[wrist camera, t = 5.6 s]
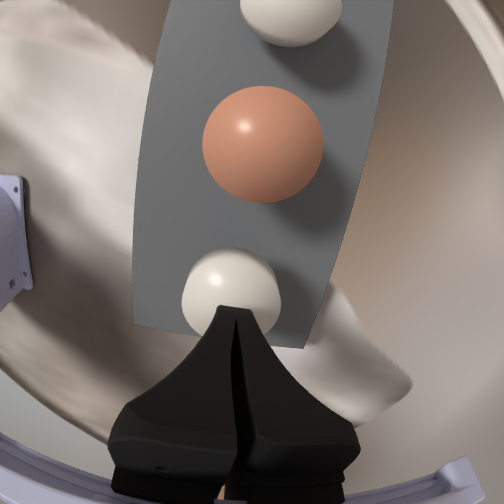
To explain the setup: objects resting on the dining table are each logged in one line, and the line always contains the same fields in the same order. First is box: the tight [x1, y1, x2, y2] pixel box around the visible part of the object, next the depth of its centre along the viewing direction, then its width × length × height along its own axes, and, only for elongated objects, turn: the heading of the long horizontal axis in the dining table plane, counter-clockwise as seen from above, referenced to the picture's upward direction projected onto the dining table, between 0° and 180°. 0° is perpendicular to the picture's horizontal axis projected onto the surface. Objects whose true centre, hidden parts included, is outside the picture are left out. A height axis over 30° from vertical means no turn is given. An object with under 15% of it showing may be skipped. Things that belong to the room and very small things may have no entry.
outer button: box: [240, 0, 342, 47], centre depth 10 cm, size 4×4×3 cm
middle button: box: [202, 86, 323, 203], centre depth 11 cm, size 4×4×3 cm
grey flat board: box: [132, 0, 394, 349], centre depth 15 cm, size 26×12×2 cm, turn 169°
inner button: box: [182, 247, 281, 336], centre depth 14 cm, size 4×4×3 cm
